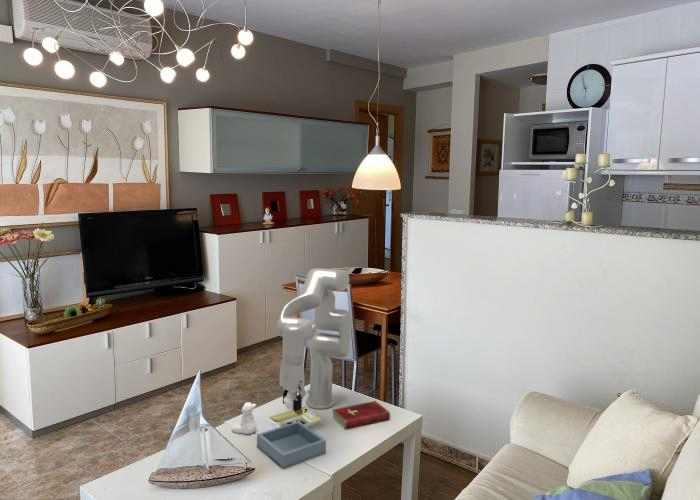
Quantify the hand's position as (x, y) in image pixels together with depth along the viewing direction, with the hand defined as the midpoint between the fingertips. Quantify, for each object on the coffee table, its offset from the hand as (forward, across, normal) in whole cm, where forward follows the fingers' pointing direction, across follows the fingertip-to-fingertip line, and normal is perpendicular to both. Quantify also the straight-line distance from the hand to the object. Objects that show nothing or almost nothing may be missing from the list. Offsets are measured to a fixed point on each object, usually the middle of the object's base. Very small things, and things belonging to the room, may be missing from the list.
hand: (292, 405), depth 193 cm
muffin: (+1, 0, 0) cm, 1 cm away
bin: (+17, 0, 0) cm, 17 cm away
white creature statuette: (+17, -22, -6) cm, 29 cm away
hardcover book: (+18, -4, +37) cm, 41 cm away
